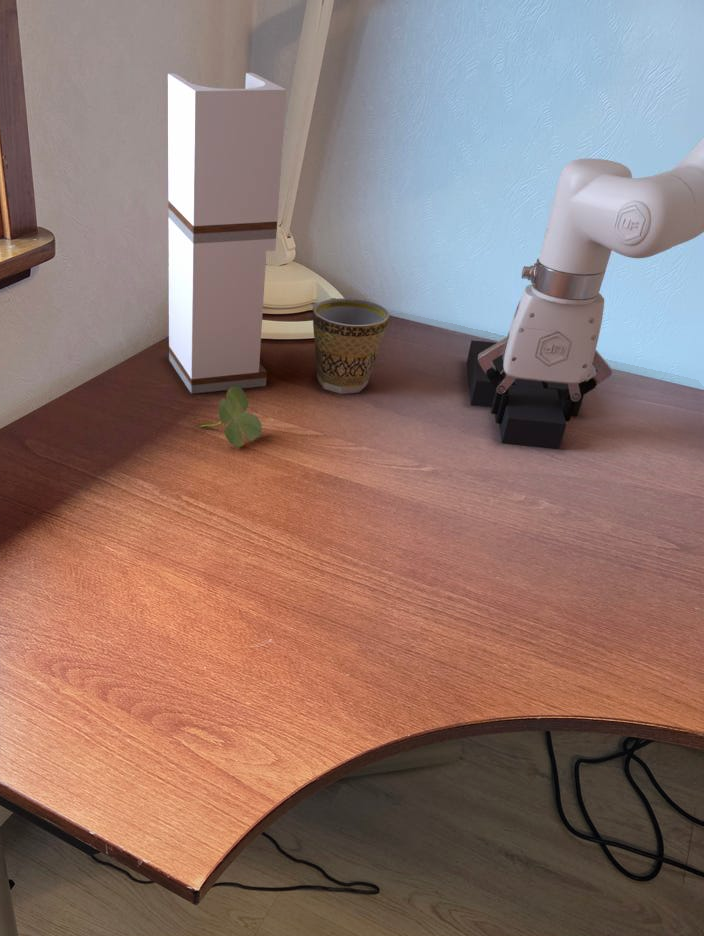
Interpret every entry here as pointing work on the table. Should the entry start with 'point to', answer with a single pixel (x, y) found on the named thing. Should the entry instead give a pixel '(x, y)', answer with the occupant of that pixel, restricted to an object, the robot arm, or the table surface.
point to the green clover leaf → (237, 417)
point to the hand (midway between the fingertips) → (528, 421)
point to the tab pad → (532, 416)
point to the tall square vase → (221, 227)
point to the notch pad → (484, 389)
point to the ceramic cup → (347, 342)
